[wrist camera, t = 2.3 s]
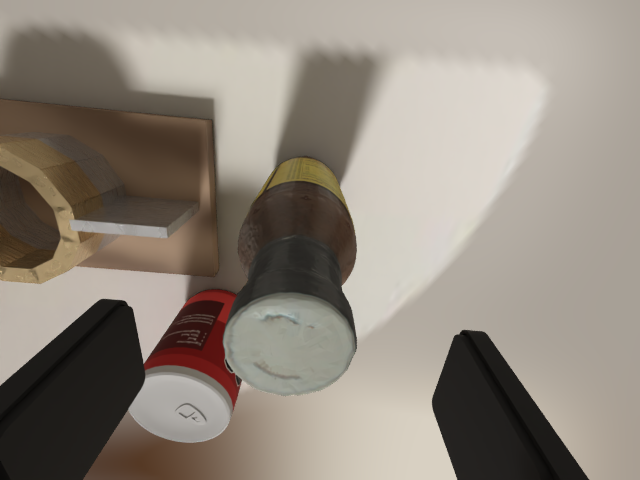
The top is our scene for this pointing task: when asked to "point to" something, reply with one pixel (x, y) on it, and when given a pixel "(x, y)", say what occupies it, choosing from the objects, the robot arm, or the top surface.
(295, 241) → the sauce bottle
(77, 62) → the top surface
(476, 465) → the robot arm
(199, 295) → the canned food
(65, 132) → the walnut board
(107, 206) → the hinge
